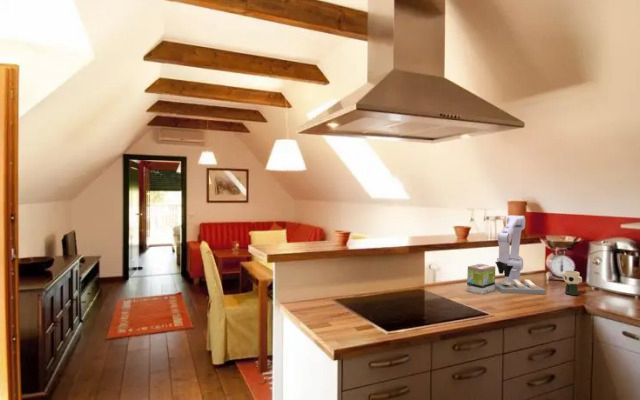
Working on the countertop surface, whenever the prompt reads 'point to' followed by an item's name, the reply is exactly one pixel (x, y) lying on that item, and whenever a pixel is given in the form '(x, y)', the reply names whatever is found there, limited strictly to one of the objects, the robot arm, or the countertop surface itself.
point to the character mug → (571, 281)
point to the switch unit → (518, 289)
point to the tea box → (481, 278)
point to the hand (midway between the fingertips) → (503, 275)
